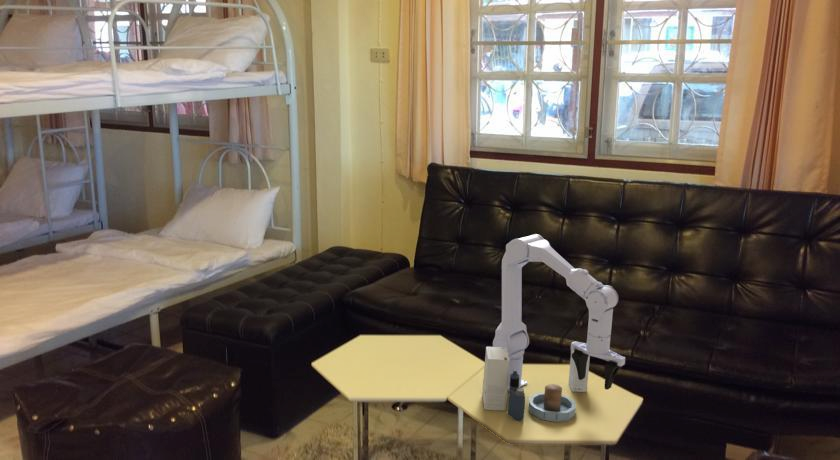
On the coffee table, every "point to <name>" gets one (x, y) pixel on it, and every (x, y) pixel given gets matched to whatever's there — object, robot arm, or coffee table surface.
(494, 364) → the skincare box
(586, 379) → the skincare box
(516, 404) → the vaping device
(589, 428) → the coffee table surface
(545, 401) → the brown cylinder
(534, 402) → the round tray
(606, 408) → the coffee table surface
